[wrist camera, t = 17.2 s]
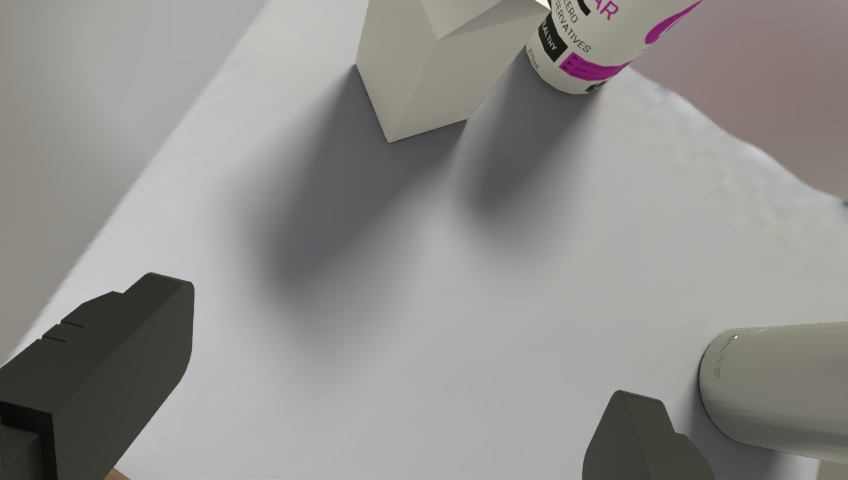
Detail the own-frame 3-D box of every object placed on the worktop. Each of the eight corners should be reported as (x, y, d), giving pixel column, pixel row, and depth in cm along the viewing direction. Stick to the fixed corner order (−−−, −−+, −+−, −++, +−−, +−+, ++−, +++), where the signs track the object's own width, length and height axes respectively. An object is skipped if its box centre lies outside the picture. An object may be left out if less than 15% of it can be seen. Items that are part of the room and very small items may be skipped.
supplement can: (626, 56, 50) (761, -63, 36) (574, 117, 48) (696, 14, 34) (560, -8, 50) (669, -153, 36) (503, 49, 48) (597, -83, 33)
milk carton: (387, 144, 44) (459, -8, 25) (353, 61, 44) (401, -144, 26) (469, 119, 46) (590, -38, 27) (435, 40, 46) (532, -164, 28)
